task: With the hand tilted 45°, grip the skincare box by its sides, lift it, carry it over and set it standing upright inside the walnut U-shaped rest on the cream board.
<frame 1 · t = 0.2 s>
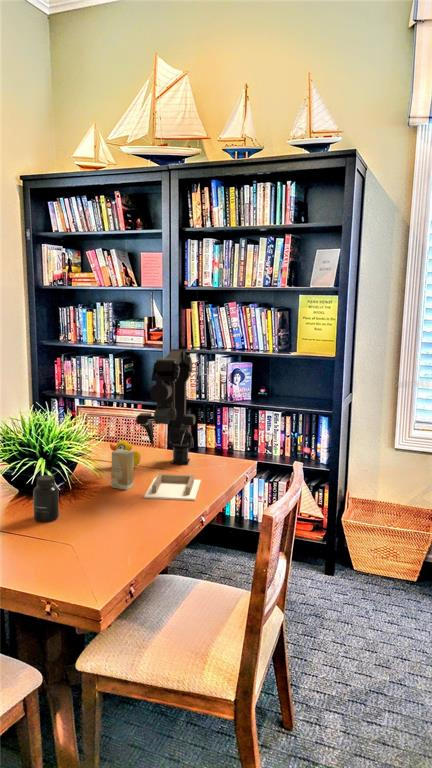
hand: (166, 445, 182), 14 cm above the table, tool pointing down, fingers open, 9 cm apart
skincare box: (122, 487, 183), on the table
supplement bottle: (46, 519, 157), on the table
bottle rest: (173, 489, 182), on the table
duckling: (125, 467, 204), on the table
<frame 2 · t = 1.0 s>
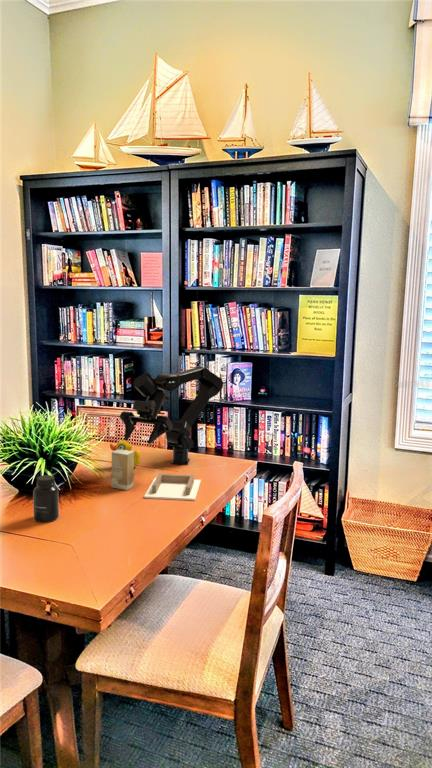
hand: (137, 441, 189), 13 cm above the table, tool tilted 45°, fingers open, 9 cm apart
nothing on the table moved.
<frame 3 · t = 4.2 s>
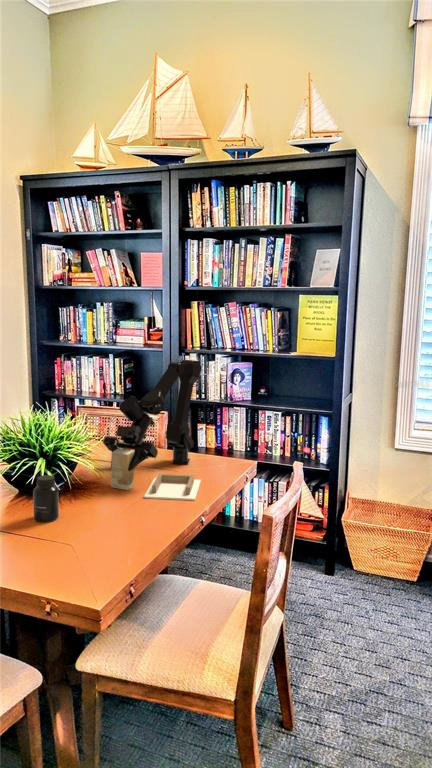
hand: (120, 469, 181), 7 cm above the table, tool tilted 45°, fingers closed on skincare box, 6 cm apart
skincare box: (122, 487, 183), on the table, touching gripper
everything else where it was.
when the fingers open (8 cm above the table, at t = 8.6 s): skincare box drops 1 cm, resting on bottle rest.
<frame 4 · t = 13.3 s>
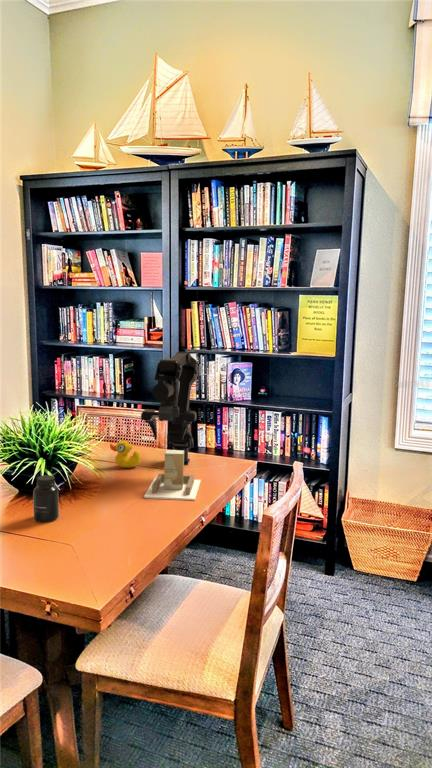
hand: (168, 439, 194), 13 cm above the table, tool pointing down, fingers open, 9 cm apart
skincare box: (173, 488, 182), resting on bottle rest
everything else where it was.
at the end: skincare box inside the target area on the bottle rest (0.6 cm from its centre), point 0.4 cm above the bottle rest's base; skincare box tilted 0°; the gripper is holding nothing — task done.
